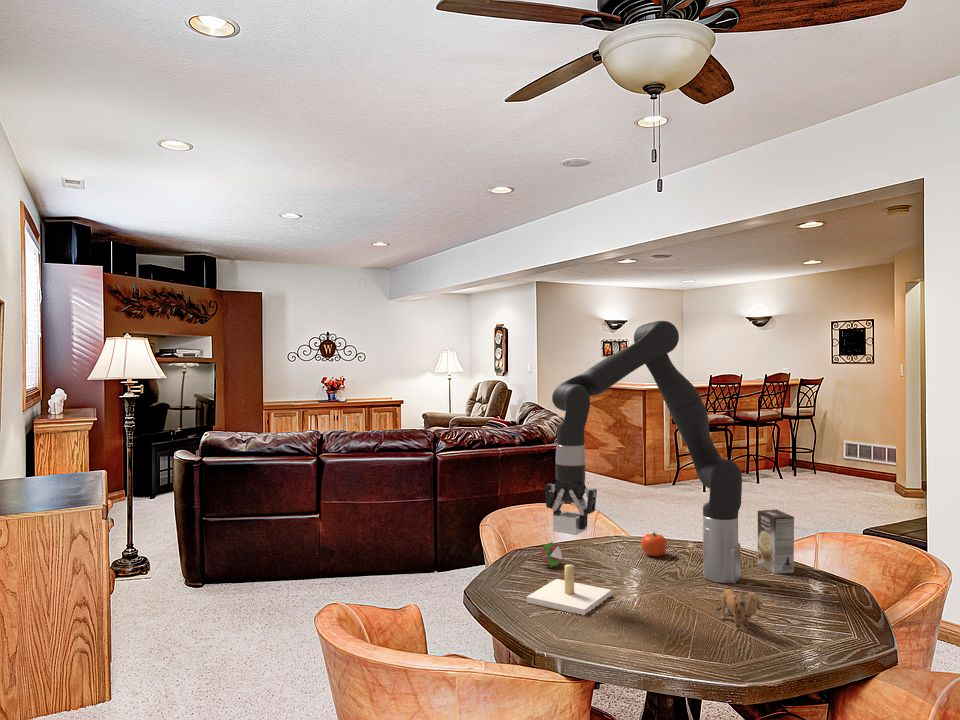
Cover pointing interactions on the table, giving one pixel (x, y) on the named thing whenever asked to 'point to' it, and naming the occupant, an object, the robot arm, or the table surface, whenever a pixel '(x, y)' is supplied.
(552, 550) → the geometric puzzle
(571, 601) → the post board
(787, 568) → the coffee box
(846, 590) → the table surface
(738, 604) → the lion figurine
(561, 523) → the steel collar
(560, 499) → the robot arm
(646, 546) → the tomato
